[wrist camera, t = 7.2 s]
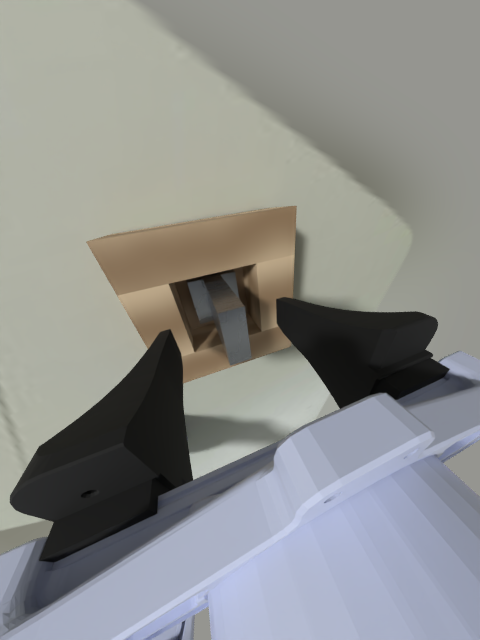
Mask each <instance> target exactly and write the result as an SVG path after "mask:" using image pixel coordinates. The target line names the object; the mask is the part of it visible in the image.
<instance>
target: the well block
mask: <svg viewBox="0 0 480 640" xmlns="http://www.w3.org/2000/svg"><path fill="white" fill-rule="evenodd" d="M296 207H297V206H288V207H275V208H266V209H260V210H254V211H248V212H242V213H236V214H230V215H224V216H218V217H212V218H206V219H200V220H195V221H189V222H183V223H177V224H171V225H165V226H159V227H153V228H147V229H141V230H135V231H129V232H123V233H117V234H111V235H107V236H104V237H101V238H97V239H94V240H90V241H87V244H88V246H89V247H90V249H91V251H92V253H93V254H94V256H95V258H96V260H97V261H98V263H99V265H100V267H101V268H102V270H103V272H104V273H105V275H106V277H107V279H108V280H109V282H110V284H111V286H112V287H113V289H114V291H115V293H116V294H117V296H118V298H119V300H120V301H121V303H122V305H123V306H124V308H125V310H126V312H127V313H128V315H129V317H130V319H131V320H132V322H133V324H134V326H135V327H136V329H137V331H138V333H139V334H140V336H141V338H142V340H143V341H144V343H145V345H146V346H147V348H148V349H149V347H150V346H151V344H152V343H153V341H154V340H155V338H156V337H157V336H158V334H159V333H160V332H161V331H164V330H168V329H171V331H172V333H173V336H174V338H175V340H176V343H177V345H178V347H179V349H180V352H181V356H182V363H183V383H186V382H189V381H192V380H194V379H197V378H200V377H203V376H206V375H209V374H212V373H215V372H218V371H221V370H224V369H227V368H230V367H232V366H235V365H238V364H241V363H244V362H247V361H250V360H253V359H256V358H259V357H262V356H265V355H267V354H270V353H273V352H276V351H279V350H282V349H285V348H288V347H291V341H290V340H289V339H288V338H287V337H286V336H285V335H284V334H283V332H282V331H281V329H280V328H279V326H278V325H277V318H276V299H278V298H282V297H288V298H292V299H293V282H294V257H295V232H296ZM230 269H233V270H234V271H235V274H236V281H237V288H238V294H239V300H240V301H241V302H242V303H243V305H244V306H245V312H246V320H247V327H248V335H249V342H250V350H251V357H252V359H249V360H246V361H243V362H240V363H237V364H234V365H231V366H230V364H229V361H228V358H227V356H226V353H225V350H224V348H223V345H222V342H221V339H220V337H219V334H218V331H217V329H216V326H215V323H214V320H213V321H209V322H206V323H202V324H200V322H199V319H198V315H197V312H196V309H195V306H194V303H193V300H192V296H191V293H190V290H189V287H188V284H187V279H191V278H196V277H200V276H204V275H209V274H213V273H217V272H222V271H226V270H230Z"/></svg>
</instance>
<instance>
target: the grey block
mask: <svg viewBox="0 0 480 640" xmlns="http://www.w3.org/2000/svg"><path fill="white" fill-rule="evenodd" d="M187 284H188V287H189V290H190V293H191V296H192V300H193V303H194V306H195V309H196V312H197V315H198V319H199V322H200V324H202V323H206V322H209V321H213V320H214V323H215V326H216V329H217V331H218V334H219V337H220V339H221V342H222V345H223V348H224V350H225V353H226V356H227V358H228V361H229V364H230V366H231V365H234V364H237V363H240V362H243V361H246V360H249V359H252V357H251V350H250V342H249V335H248V327H247V320H246V312H245V306H244V305H243V303H242V302H241V301H240V300H239V294H238V288H237V281H236V274H235V271H234V270H233V269H230V270H226V271H222V272H217V273H213V274H209V275H204V276H200V277H196V278H191V279H187Z"/></svg>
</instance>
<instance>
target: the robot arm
mask: <svg viewBox="0 0 480 640" xmlns="http://www.w3.org/2000/svg"><path fill="white" fill-rule="evenodd" d="M276 318H277V325H278V326H279V328H280V329H281V331H282V332H283V334H284V335H285V336H286V337H287V338H288V339H289V340H290V341H291V342H292V344H293V345H294V346H295V347H296V348H297V349H298V350H299V351H300V352H301V353H302V354H303V355H304V357H305V358H306V359H307V360H308V362H309V363H310V364H311V366H312V367H313V368H314V370H315V371H316V372H317V374H318V375H319V377H320V378H321V380H322V381H323V382H324V384H325V385H326V387H327V389H328V390H329V392H330V393H331V395H332V396H333V398H334V400H335V401H336V403H337V405H338V406H339V408H340V409H339V410H337V411H334V412H332V413H330V414H328V415H325V416H323V417H321V418H319V419H317V420H314V421H312V422H310V423H308V424H305V425H304V426H302V427H300V428H298V429H297V430H295V431H293V432H292V433H290V434H289V435H288V436H287V437H286V438H285V439H282V440H280V441H278V442H276V443H274V444H271V445H269V446H267V447H265V448H263V449H260V450H258V451H256V452H254V453H252V454H250V455H247V456H245V457H243V458H241V459H239V460H236V461H234V462H232V463H230V464H228V465H225V466H223V467H221V468H219V469H217V470H215V471H212V472H210V473H208V474H206V475H204V476H201V477H199V478H197V479H195V480H193V476H192V470H191V464H190V457H189V450H188V442H187V441H188V437H187V435H186V426H185V418H184V408H183V363H182V356H181V352H180V349H179V347H178V345H177V343H176V340H175V338H174V336H173V333H172V331H171V329H168V330H164V331H161V332H160V333H159V334H158V336H157V337H156V338H155V340H154V341H153V343H152V344H151V346H150V347H149V349H148V350H147V351H146V353H145V354H144V355H143V357H142V358H141V359H140V360H139V362H138V363H137V364H136V366H135V367H134V368H133V369H132V370H131V371H130V372H129V374H128V375H127V376H126V377H125V378H124V379H123V380H122V381H121V382H120V383H119V384H118V385H117V386H116V387H115V388H113V389H112V390H111V391H110V392H109V393H108V394H107V395H106V396H105V397H104V398H103V399H102V400H100V401H99V402H98V403H97V404H96V405H94V406H93V407H92V408H91V409H90V410H88V411H87V412H86V413H85V414H83V415H82V416H81V417H79V418H78V419H77V420H76V421H74V422H73V423H72V424H70V425H69V426H67V427H66V428H65V429H63V430H62V431H61V432H59V433H58V434H56V435H55V436H54V437H52V438H51V439H49V440H48V441H47V442H45V443H44V444H42V445H41V446H39V448H38V449H37V451H36V453H35V454H34V456H33V458H32V460H31V461H30V463H29V465H28V466H27V468H26V470H25V471H24V473H23V475H22V477H21V478H20V480H19V482H18V483H17V485H16V487H15V488H14V490H13V492H12V494H11V495H10V503H11V505H12V506H13V508H14V509H15V510H17V511H19V512H21V513H23V514H27V515H31V516H35V517H38V518H42V519H46V520H49V521H53V522H54V523H53V526H52V529H51V531H50V534H49V536H48V537H42V538H37V539H34V540H31V541H29V542H27V543H25V544H22V545H20V546H18V547H15V548H13V549H11V550H9V551H6V552H5V553H2V554H0V640H193V636H194V619H195V614H197V613H198V612H200V611H202V610H204V609H205V608H207V607H209V614H210V615H209V616H210V627H211V639H212V640H480V497H479V496H478V495H477V494H476V493H475V492H474V491H473V490H472V489H471V488H470V487H468V486H467V485H466V484H465V483H464V482H463V481H462V480H461V479H460V478H459V477H458V476H457V475H455V474H454V473H453V472H452V471H451V470H450V469H449V468H448V467H447V466H446V465H444V464H443V463H444V462H445V461H447V460H448V459H450V458H452V457H453V456H455V455H456V454H458V453H460V452H461V451H463V450H464V449H466V448H467V447H469V446H470V445H472V444H474V443H476V442H477V441H479V440H480V360H479V359H477V358H475V357H473V356H471V355H469V354H467V353H464V352H462V351H457V352H455V353H453V354H450V355H448V356H446V357H444V358H442V359H441V360H439V361H438V362H437V361H435V360H433V359H431V357H432V356H433V354H432V353H430V352H429V351H427V350H425V349H426V347H427V346H428V344H429V343H430V341H431V339H432V338H433V336H434V334H435V332H436V330H437V327H438V322H437V320H436V318H434V317H432V316H429V315H426V314H424V313H421V312H388V313H387V312H361V311H349V310H342V309H335V308H329V307H324V306H320V305H315V304H311V303H307V302H304V301H300V300H296V299H292V298H288V297H282V298H278V299H276Z"/></svg>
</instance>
